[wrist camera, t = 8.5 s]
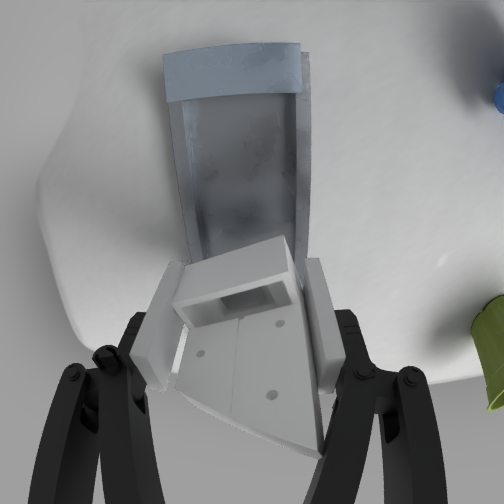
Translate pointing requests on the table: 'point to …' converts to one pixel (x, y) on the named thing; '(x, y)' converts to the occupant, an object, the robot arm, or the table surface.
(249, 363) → the white angled block
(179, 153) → the rail
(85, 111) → the table surface
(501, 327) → the plant pot
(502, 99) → the grapes
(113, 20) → the table surface
